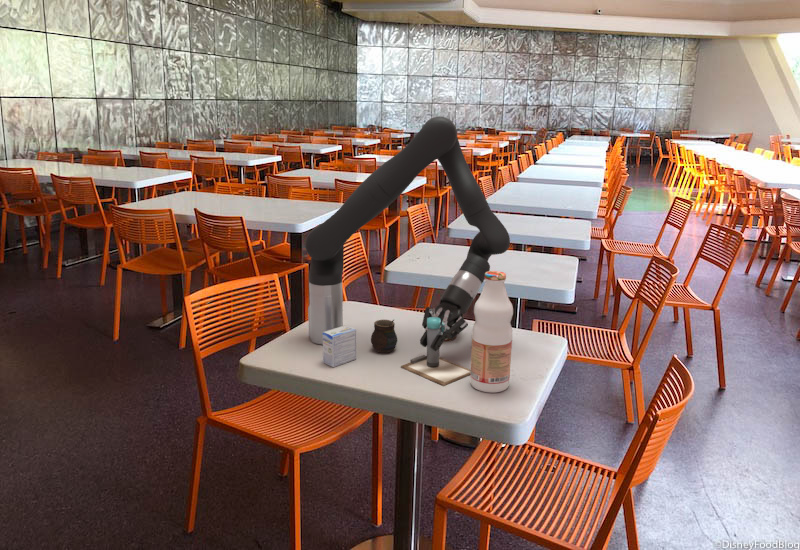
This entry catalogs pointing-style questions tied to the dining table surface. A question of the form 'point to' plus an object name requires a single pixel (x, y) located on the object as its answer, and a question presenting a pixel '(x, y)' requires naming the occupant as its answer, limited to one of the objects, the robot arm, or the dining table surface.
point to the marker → (432, 332)
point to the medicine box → (339, 346)
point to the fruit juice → (492, 336)
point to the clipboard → (437, 370)
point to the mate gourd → (384, 336)
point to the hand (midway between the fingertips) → (427, 347)
